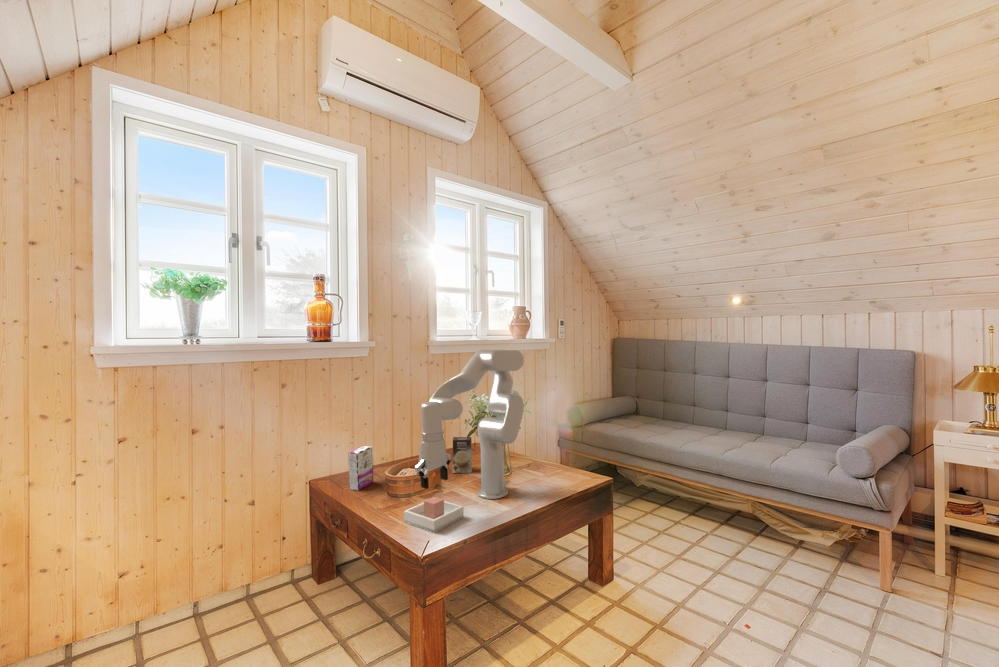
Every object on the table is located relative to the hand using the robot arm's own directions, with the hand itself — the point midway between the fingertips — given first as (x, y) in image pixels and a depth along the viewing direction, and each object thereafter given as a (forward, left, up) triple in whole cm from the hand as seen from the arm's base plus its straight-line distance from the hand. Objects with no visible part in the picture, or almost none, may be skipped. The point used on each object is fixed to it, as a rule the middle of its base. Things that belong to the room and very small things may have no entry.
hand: (434, 483), depth 161 cm
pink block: (+1, 0, -12) cm, 12 cm away
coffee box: (-46, -28, -13) cm, 56 cm away
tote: (+1, 0, -13) cm, 13 cm away
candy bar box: (-6, -52, -13) cm, 54 cm away
